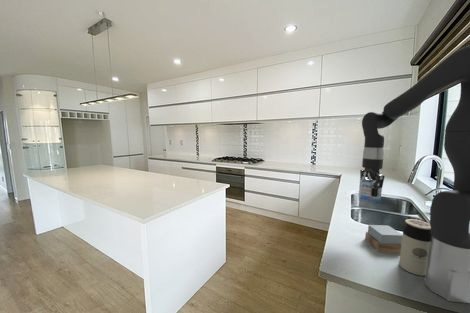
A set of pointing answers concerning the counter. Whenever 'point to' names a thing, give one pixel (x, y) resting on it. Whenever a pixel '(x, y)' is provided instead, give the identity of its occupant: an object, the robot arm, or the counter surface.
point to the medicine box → (368, 190)
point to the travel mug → (415, 246)
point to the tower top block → (385, 234)
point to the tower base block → (383, 245)
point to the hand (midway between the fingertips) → (369, 194)
